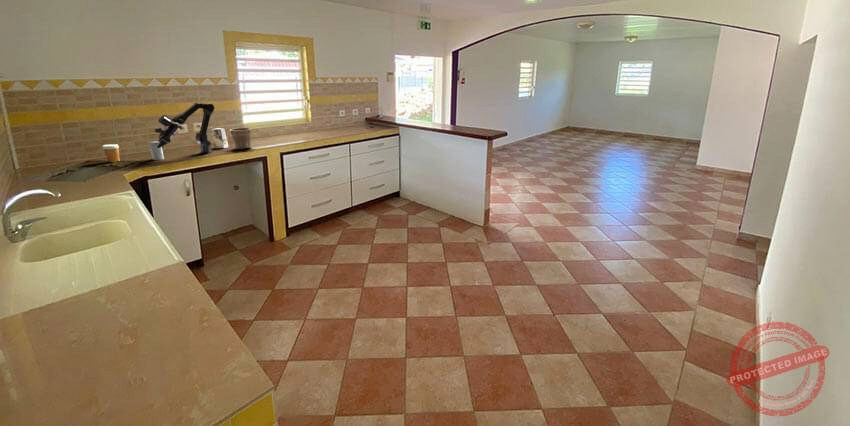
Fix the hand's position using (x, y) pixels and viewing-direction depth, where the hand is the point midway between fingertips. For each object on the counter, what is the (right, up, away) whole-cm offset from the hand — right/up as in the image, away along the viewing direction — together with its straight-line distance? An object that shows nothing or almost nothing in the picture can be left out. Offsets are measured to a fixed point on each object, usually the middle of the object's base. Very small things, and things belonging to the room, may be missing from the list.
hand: (157, 146), depth 298 cm
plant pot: (+44, +6, +45) cm, 63 cm away
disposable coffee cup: (-27, -12, -6) cm, 30 cm away
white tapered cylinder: (-1, -9, +2) cm, 9 cm away
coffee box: (+24, +7, +48) cm, 53 cm away
